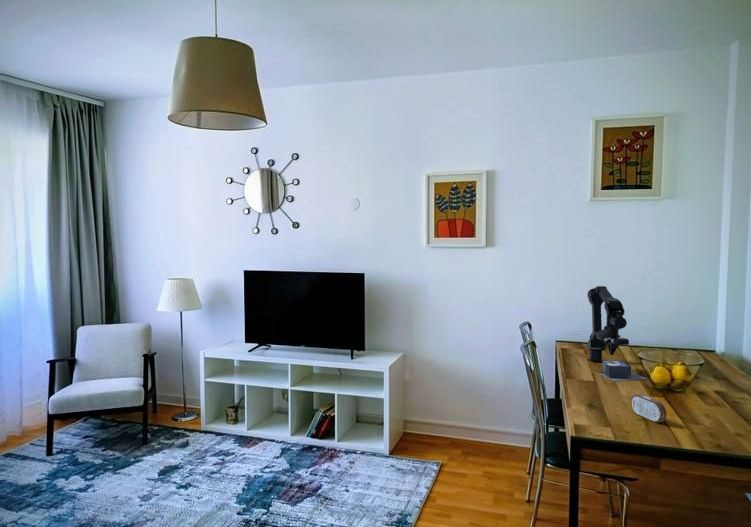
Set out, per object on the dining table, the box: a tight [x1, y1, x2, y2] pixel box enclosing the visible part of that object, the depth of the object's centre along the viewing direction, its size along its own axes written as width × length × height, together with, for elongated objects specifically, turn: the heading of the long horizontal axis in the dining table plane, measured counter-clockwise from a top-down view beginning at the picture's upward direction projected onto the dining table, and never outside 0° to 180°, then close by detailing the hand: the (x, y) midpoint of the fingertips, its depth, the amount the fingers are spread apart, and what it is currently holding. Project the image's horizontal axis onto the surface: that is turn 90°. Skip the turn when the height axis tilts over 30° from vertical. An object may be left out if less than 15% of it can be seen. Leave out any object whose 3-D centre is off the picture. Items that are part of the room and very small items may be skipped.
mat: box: [599, 371, 648, 382], centre depth 251 cm, size 12×18×1 cm, turn 101°
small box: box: [601, 360, 632, 379], centre depth 252 cm, size 11×6×10 cm
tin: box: [630, 393, 667, 423], centre depth 194 cm, size 15×3×8 cm, turn 17°
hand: (611, 355), depth 259 cm, fingers closed
